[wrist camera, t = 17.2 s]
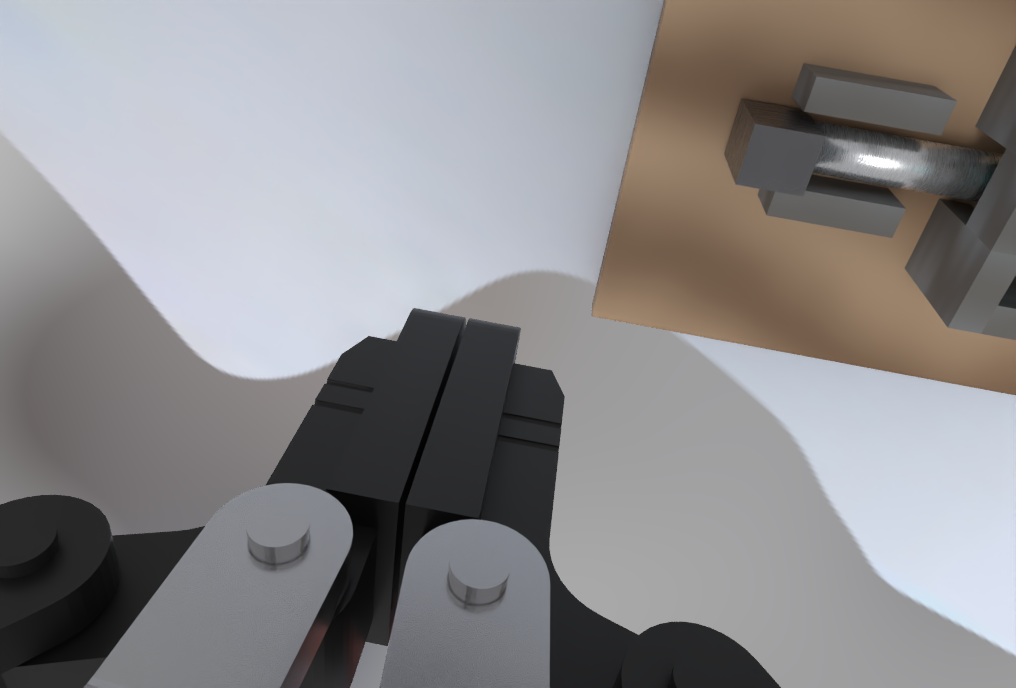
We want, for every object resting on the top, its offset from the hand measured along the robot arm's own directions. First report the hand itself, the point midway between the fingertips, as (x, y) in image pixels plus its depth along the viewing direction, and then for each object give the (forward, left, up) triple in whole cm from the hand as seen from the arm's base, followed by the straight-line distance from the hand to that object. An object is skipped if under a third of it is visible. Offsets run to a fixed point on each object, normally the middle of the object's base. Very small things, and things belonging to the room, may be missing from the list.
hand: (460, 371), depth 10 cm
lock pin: (0, +10, -16) cm, 19 cm away
